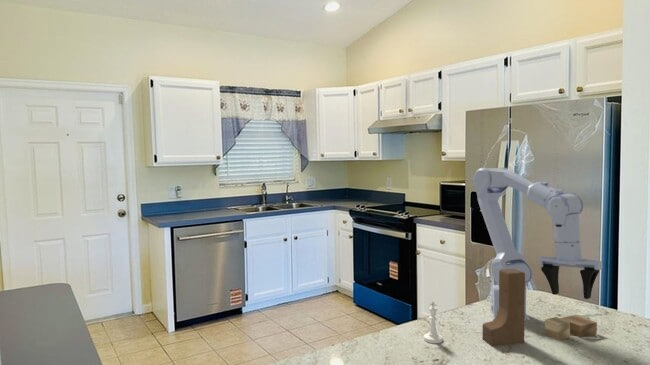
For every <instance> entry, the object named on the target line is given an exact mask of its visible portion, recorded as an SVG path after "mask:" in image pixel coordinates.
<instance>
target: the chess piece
mask: <svg viewBox="0 0 650 365" xmlns="http://www.w3.org/2000/svg"><path fill="white" fill-rule="evenodd" d="M429 305H430V307H429V308H428V310H429V312H430V316H429V317H428V319H429V320H430V327H429V328H430V330H429V331H428V332H427V333H425V334H423V339H422V340H423V341H424V342H427V343H430V344H441V343H442V342H444V337H443V335H441V334H439V333H438V331H437V326H436V320H438V317H437V316H436V315H437V311H438V308H437V306H438V305H437V303H435V300H432V301H431V302H429Z"/></svg>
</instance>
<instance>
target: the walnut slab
mask: <svg viewBox="0 0 650 365" xmlns="http://www.w3.org/2000/svg"><path fill="white" fill-rule="evenodd" d="M560 318H561V319H563V320H566V321H568V322H570V335H571V336H577V337H580V338H581V337H589V336H593V335H594V334H597V333H598V332H597V331H598V323H597V322H598V321H597V322H596V321H594V320H592V319H590V318H589V319H588V318H586V317H583V316H580V315H578V314H575V315H574V314H573V315H569V316H565V317H564V316H563V317H560ZM597 335H598V334H597ZM594 336H595V335H594ZM580 338H579V339H580ZM581 339H582V338H581Z"/></svg>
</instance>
